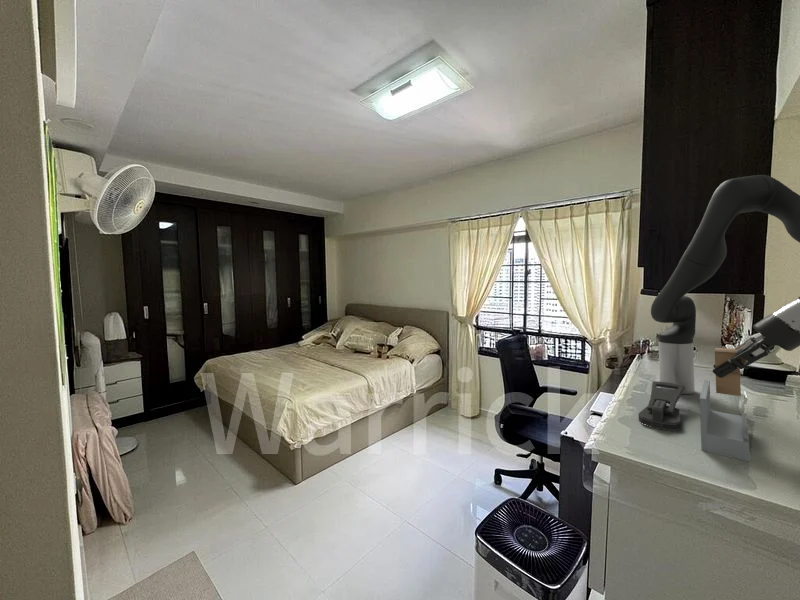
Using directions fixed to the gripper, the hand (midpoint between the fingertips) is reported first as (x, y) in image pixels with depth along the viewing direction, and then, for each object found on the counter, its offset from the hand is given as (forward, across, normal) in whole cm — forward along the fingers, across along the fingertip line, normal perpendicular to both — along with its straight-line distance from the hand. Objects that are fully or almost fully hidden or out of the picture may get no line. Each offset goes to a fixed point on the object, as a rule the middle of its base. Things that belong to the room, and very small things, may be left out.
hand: (716, 371), depth 77 cm
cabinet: (+2, 0, +4) cm, 5 cm away
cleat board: (+11, +1, +12) cm, 16 cm away
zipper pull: (+20, -10, +4) cm, 23 cm away
